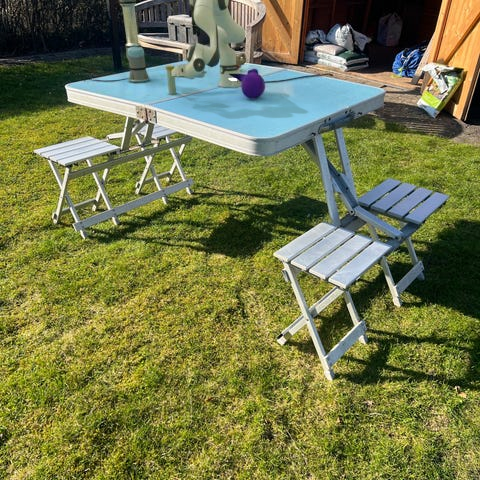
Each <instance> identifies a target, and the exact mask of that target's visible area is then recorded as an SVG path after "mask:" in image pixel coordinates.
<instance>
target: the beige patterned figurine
mask: <svg viewBox="0 0 480 480" xmlns="http://www.w3.org/2000/svg"><path fill="white" fill-rule="evenodd" d="M241 58H242V60H241ZM246 62H247V56H246V54H245V53H244V52H241V53H239V54H238V55H237V53H236V64H237V65H241V66H243V65H245V64H246ZM238 70H240V68H238Z"/></svg>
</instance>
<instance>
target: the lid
mask: <svg viewBox="0 0 480 480" xmlns="http://www.w3.org/2000/svg"><path fill="white" fill-rule="evenodd" d="M175 67H176V66H175V64H174V65H173V64H167V65H165V70H166V71H167V70H172V69H174V68H175Z"/></svg>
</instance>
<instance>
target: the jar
mask: <svg viewBox="0 0 480 480" xmlns="http://www.w3.org/2000/svg"><path fill="white" fill-rule="evenodd" d="M171 71H172V70H167V69H166V77H167V89H168V95H171V96H173V95H176V94H177V85H176V77H172V75H171Z"/></svg>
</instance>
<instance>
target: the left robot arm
mask: <svg viewBox="0 0 480 480" xmlns="http://www.w3.org/2000/svg"><path fill="white" fill-rule="evenodd" d="M188 1H189V11H191V26H192V35H194V36H195V35H196V37H201V28H200V27H198V26H197V24H196V23H195V21H194V6H193V0H188ZM119 5H120V6H121V8H122V13H123V22H124V29H125V35H126V36H125V38H126V43H125V56H126V59H127V60H128V66H129V76H128V77H126V78H120V79H111V80H107V79H106V80H103V79H102V80H101V79H93V80H92V78H85V79H84V80H83V82H86V81H93V82H94V81H95V82H120V81H125V80H128V82H129V83H133V84H141V83H148V82H150V76H149V74H148V71H147V67H146V59H145V50H144V48H143V47H142V43H140V42H139V41H140V40H139V34H138V25H137V17H136V8H135V6H136V5H137V0H119ZM89 131H90V134H92V129H91V128H89Z"/></svg>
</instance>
